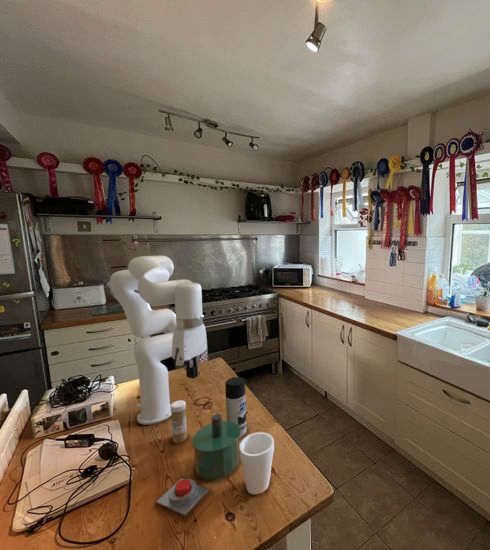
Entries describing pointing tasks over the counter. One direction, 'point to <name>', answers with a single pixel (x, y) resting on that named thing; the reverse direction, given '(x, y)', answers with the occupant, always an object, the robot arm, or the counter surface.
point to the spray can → (236, 402)
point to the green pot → (217, 462)
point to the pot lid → (216, 435)
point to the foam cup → (257, 461)
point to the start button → (182, 487)
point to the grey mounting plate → (183, 498)
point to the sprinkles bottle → (178, 421)
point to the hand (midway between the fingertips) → (192, 376)
